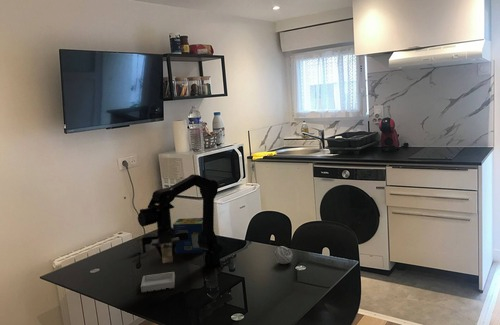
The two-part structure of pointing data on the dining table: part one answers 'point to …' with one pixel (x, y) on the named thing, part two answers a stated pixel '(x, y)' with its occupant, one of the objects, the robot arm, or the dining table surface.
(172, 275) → the housing tray
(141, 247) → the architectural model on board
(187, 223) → the protein box
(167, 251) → the brown block
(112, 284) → the dining table surface
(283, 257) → the grey streaked ball
